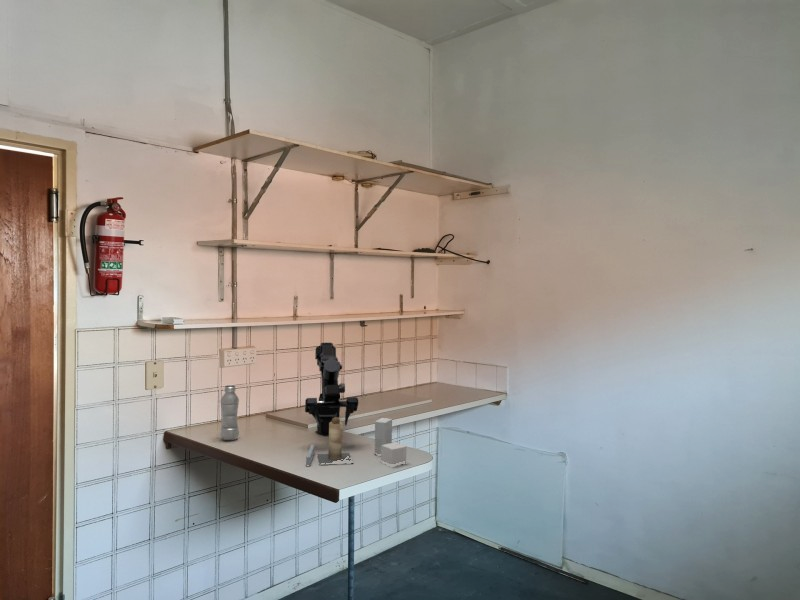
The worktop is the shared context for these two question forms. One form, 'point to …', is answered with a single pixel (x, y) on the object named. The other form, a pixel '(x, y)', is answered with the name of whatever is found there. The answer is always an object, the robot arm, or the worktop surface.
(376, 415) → the worktop surface
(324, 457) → the mat
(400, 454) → the grey cube
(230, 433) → the plastic bottle
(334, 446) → the mill
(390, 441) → the skincare box
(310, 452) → the rail
